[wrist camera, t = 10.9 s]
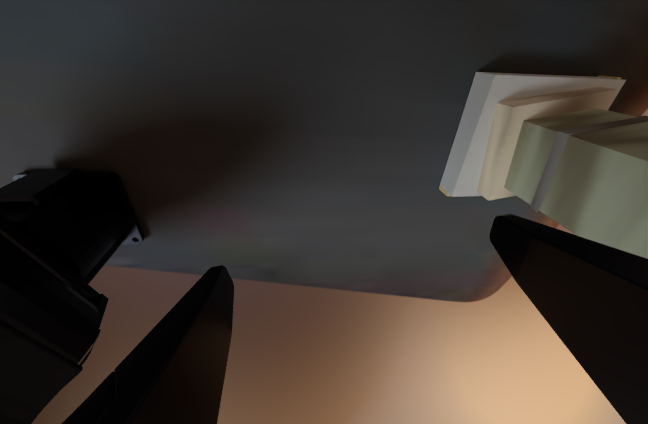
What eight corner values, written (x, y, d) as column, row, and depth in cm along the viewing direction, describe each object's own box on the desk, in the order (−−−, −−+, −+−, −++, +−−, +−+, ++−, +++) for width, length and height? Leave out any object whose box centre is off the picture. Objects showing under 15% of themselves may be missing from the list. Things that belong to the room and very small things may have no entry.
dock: (539, 186, 25) (558, 197, 23) (438, 188, 23) (450, 199, 22) (601, 75, 20) (630, 78, 18) (476, 70, 18) (495, 72, 17)
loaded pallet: (476, 191, 22) (668, 340, 11) (496, 102, 18) (828, 196, 7) (557, 176, 22) (825, 308, 11) (594, 85, 18) (1067, 151, 7)
